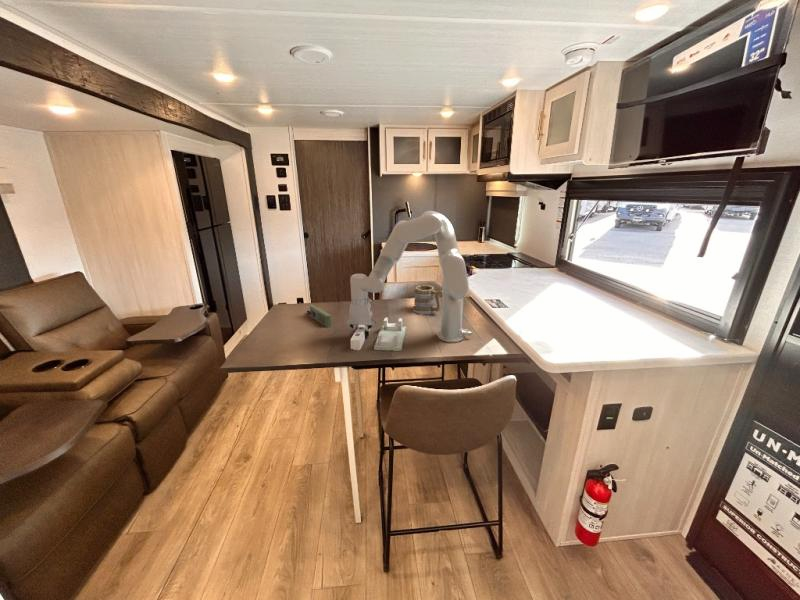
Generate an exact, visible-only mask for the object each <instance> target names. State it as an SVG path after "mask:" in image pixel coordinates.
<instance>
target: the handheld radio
mask: <svg viewBox="0 0 800 600" xmlns="http://www.w3.org/2000/svg"><path fill="white" fill-rule="evenodd" d="M306 313H307V314H309V315H310V318H312V319H313V318H314V319H313V320H315V321H316V322H318V323H320V324H321V325H323V326H325V327H326V328H330V327H332V315H331V314H330V313H328V312H326V311H324V310H322V308H321V309H320V308H319V307H318V306H316V305H313V304H309V310H306Z"/></svg>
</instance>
